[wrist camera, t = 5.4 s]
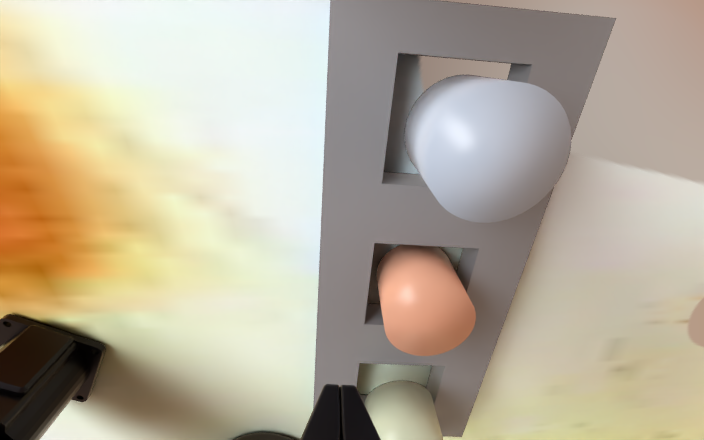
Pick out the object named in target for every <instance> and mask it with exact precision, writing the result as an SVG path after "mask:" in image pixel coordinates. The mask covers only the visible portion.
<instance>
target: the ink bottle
mask: <svg viewBox="0 0 704 440" xmlns="http://www.w3.org/2000/svg"><path fill="white" fill-rule="evenodd" d="M234 440H294V439H291V438H289V437H286V436H283V435H279V434H274V433H263V432H262V433H251V434H247V435H243V436H241V437H238V438H236V439H234Z"/></svg>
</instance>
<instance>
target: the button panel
mask: <svg viewBox="0 0 704 440" xmlns="http://www.w3.org/2000/svg"><path fill="white" fill-rule="evenodd" d="M615 20H616V18H609V17H598V16H589V15H579V14H569V13H558V12H548V11H538V10H528V9H518V8H508V7H498V6H488V5H478V4H468V3H457V2H448V1H438V0H331V2H330V26H329V49H328V73H327V97H326V121H325V145H324V169H323V193H322V217H321V240H320V264H319V288H318V312H317V336H316V360H315V384H314V407H315V405H316V402H317V400H318V398H319V395H320V393H321V391H322V388H323V386H324V385H325V384H337V385H339V387H340V386H341V385H354V386H356V387H357V379H358V371H359V363H370V364H402V365H432V368H431V372H430V376H429V379H428V383H427V387H426V388H427V389H428V390H429V392H430V393H431V396H432V399H433V403H434V407H435V411H436V414H437V418H438V422H439V426H440V429H441V433H442V436H453V437H462V435H463V432H464V430H465V427H466V424H467V421H468V419H469V416H470V413H471V411H472V408H473V405H474V402H475V400H476V397H477V394H478V392H479V389H480V386H481V383H482V381H483V378H484V375H485V373H486V370H487V367H488V364H489V362H490V359H491V356H492V354H493V351H494V348H495V345H496V343H497V340H498V337H499V335H500V332H501V329H502V327H503V324H504V321H505V318H506V316H507V313H508V310H509V308H510V305H511V302H512V299H513V297H514V294H515V291H516V289H517V286H518V283H519V280H520V278H521V275H522V272H523V270H524V267H525V264H526V261H527V259H528V256H529V253H530V251H531V248H532V245H533V243H534V240H535V237H536V234H537V232H538V229H539V226H540V224H541V221H542V218H543V215H544V213H545V210H546V207H547V205H548V202H549V199H550V196H551V194H552V191H553V188H554V187H553V188H552V189H551V191H550V192H549V193H548V194H547V195H546V196H545V197H544V198H543V199H542V200H541V201H540V202H538V203H537V204H536V205H534V206H533V207H532V208H530V209H529V210H527V211H525V212H523V213H522V214H519V215H517V216H515V217H512V218H510V219H507V220H503V221H498V222H491V223H478V222H471V221H467V220H464V219H461V218H459V217H456V216H455V215H453V214H451V213H450V212H448V211H447V210H446V209H445V208H444V207H443V206H442V205H441V204H440V203H439V202H438V201H437V199H436V198H435V196H434V195H433V193H432V192H431V190H430V189H429V187H428V186H427V184H426V183H425V181H424V180H423V178H422V177H421V175H420V174H407V173H392V172H383V171H384V163H385V155H386V147H387V139H388V131H389V123H390V115H391V107H392V99H393V91H394V83H395V75H396V67H397V59H398V54H409V55H420V56H432V57H443V58H455V59H465V60H466V59H467V60H477V61H488V62H499V63H511V68H510V72H509V75H508V79H507V80H509V81H516V82H523V83H529V84H532V85H535V86H538V87H540V88H542V89H544V90H546V91H547V92H549V93H550V94H551V95H553V96H554V97H555V98H556V99H557V100H558V101H559V102H560V104H561V105H562V107H563V108H564V110H565V112H566V114H567V117H568V119H569V123H570V127H571V139H572V137H573V134H574V131H575V129H576V126H577V123H578V121H579V118H580V115H581V112H582V109H583V107H584V104H585V101H586V99H587V96H588V93H589V91H590V88H591V85H592V83H593V80H594V77H595V74H596V72H597V69H598V66H599V63H600V61H601V58H602V55H603V53H604V50H605V47H606V45H607V42H608V39H609V36H610V34H611V31H612V28H613V26H614V23H615ZM374 243H384V244H402V245H421V246H440V247H458V248H463V250H462V254H461V258H460V262H459V265H458V269H457V273H456V274H457V276H458V277H459V279H460V281H461V283H462V285H463V287H464V289H465V291H466V293H467V294H468V296H469V298H470V300H471V302H472V304H473V306H474V308H475V312H476V321H475V325H474V328H473V330H472V332H471V333H470V335H469V336H468V337H467V338H466V340H465V341H464V342H462V343H461V344H460V345H458V346H457V347H455V348H454V349H452V350H450V351H447V352H445V353H441V354H438V355H432V356H416V355H411V354H408V353H405V352H403V351H401V350H399V349H397V348H396V347H395V346H393V345H392V344H391V342H390V341H389V340H388V338H387V336H386V333H385V329H384V323H383V316H382V310H381V304H367V299H368V291H369V283H370V275H371V267H372V259H373V251H374ZM360 396H361V398H362V400H363V403H364V405H365V400H366V397H367V396H368V395H360ZM314 407H313V409H314Z"/></svg>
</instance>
